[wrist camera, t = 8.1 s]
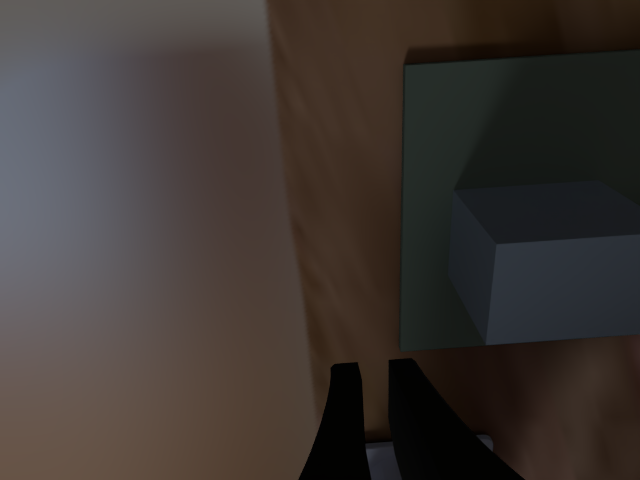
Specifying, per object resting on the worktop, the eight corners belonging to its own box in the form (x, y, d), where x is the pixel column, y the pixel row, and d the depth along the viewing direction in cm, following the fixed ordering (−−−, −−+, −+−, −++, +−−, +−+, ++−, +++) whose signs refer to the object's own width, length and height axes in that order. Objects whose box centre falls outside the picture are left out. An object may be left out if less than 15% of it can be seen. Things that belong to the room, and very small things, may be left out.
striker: (582, 265, 23) (652, 332, 18) (447, 275, 23) (485, 345, 18) (598, 180, 21) (681, 231, 17) (453, 189, 21) (496, 244, 17)
